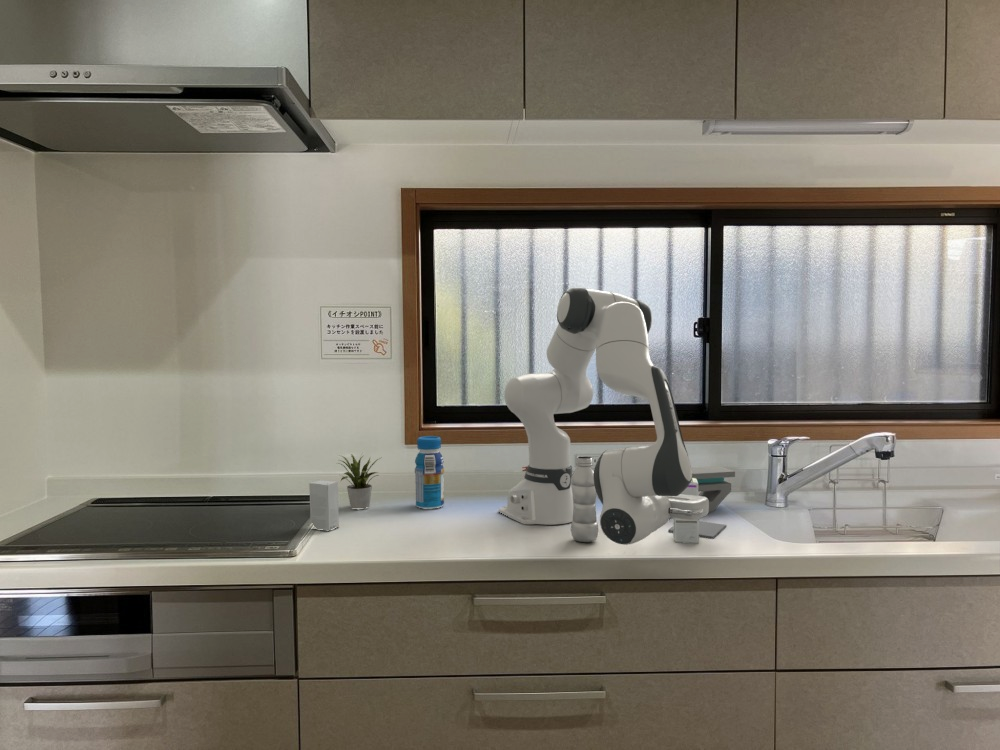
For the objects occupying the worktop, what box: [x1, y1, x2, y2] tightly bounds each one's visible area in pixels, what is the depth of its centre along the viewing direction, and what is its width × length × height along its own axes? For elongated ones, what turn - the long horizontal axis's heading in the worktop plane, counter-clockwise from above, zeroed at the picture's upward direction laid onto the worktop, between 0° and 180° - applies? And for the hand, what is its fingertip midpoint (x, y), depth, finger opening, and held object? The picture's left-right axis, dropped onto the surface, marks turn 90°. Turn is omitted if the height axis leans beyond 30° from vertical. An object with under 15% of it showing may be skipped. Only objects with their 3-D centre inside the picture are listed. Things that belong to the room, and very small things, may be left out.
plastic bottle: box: [570, 455, 599, 543], centre depth 159 cm, size 6×7×20 cm
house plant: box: [337, 453, 381, 509], centre depth 192 cm, size 14×14×16 cm
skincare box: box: [308, 479, 340, 530], centre depth 171 cm, size 6×4×12 cm
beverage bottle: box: [414, 435, 445, 509], centre depth 193 cm, size 8×8×20 cm
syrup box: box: [672, 478, 700, 544], centre depth 159 cm, size 6×6×14 cm
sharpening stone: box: [692, 465, 736, 512], centre depth 188 cm, size 25×8×11 cm, turn 103°
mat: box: [667, 520, 727, 539], centre depth 168 cm, size 12×11×1 cm
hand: (670, 495), depth 149 cm, fingers closed
